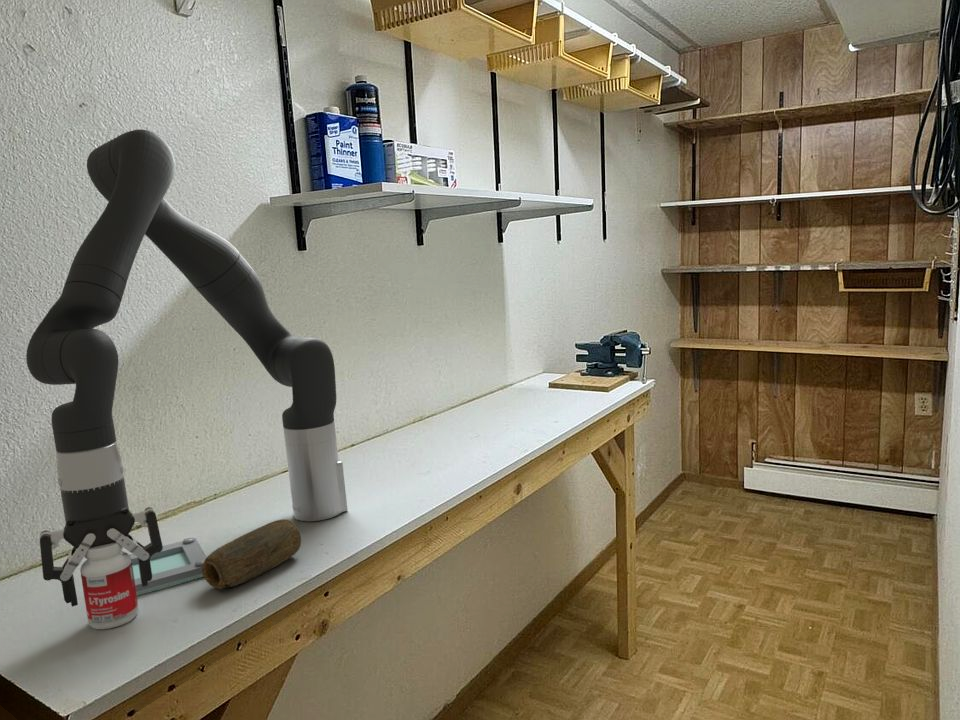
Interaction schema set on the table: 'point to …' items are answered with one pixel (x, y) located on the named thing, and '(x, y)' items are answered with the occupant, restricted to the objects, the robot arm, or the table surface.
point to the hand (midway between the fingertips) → (110, 594)
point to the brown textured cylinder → (251, 554)
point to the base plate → (171, 565)
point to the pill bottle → (109, 586)
